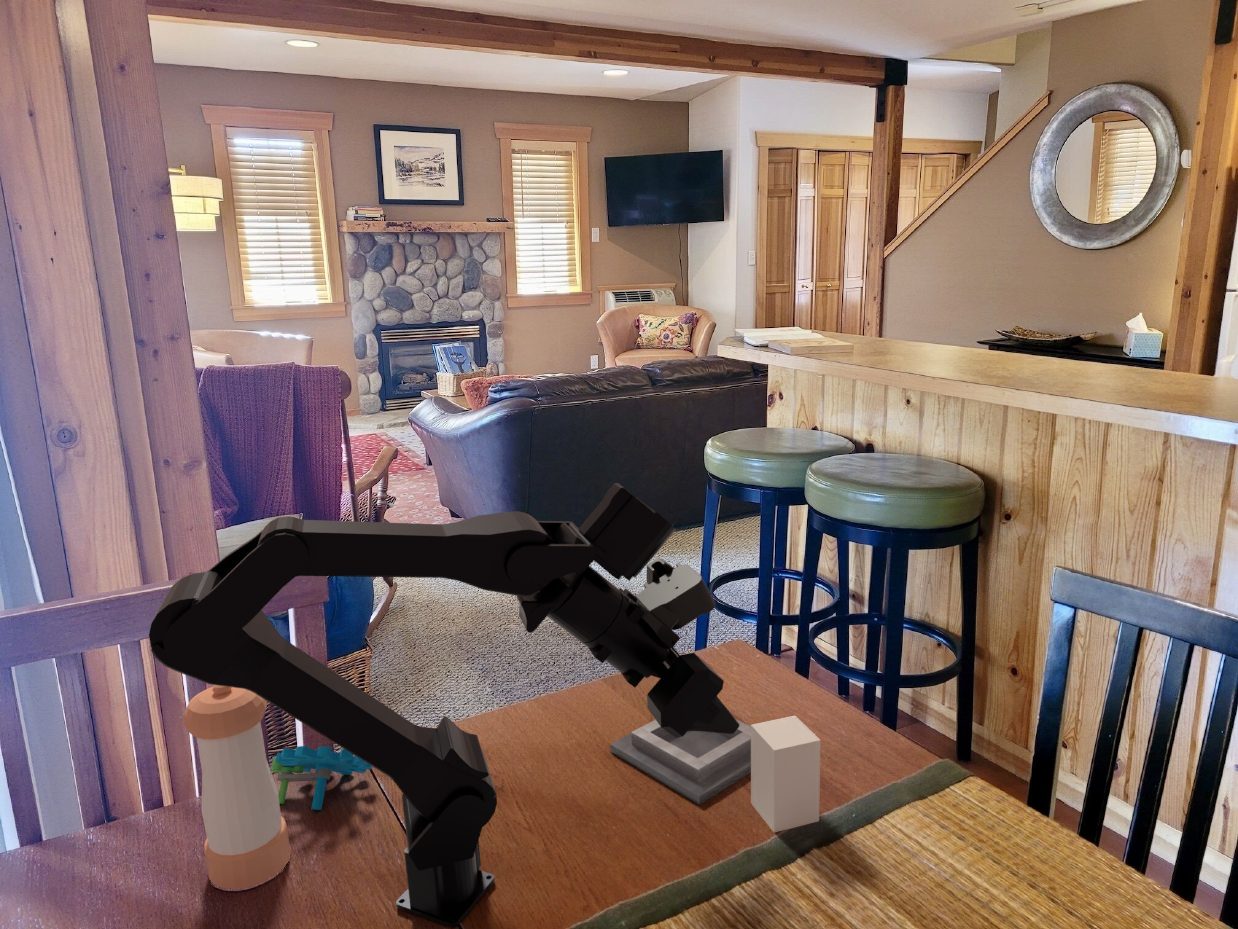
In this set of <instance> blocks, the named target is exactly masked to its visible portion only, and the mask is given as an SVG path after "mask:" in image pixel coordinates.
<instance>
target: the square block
mask: <svg viewBox="0 0 1238 929" xmlns="http://www.w3.org/2000/svg"><path fill="white" fill-rule="evenodd" d="M750 726H751V773H750V804H751V805H752V806H753V808H754V809H755V810H756V812H757V813H758V814H759V815H760V817H761V818H762V819H763V821H765V823H766V825H767V826H768V827H769V828H770V829H771V831H772V832H773V833H777V832H781V831H786V830H790V829H793V828H797V827H801V826H805V825H809V824H813V823H817V822H819V821H820V794H821V793H820V789H821V788H820V787H821V784H820V782H821V780H820V779H821V739H820V738H819V737H818V735H816V734H815V733H814V732H813V731H812V730H811V729H810V728H809V727H808V726H807V725H806V724H804V722H803V721H802V720H800V719H799V718H798V716H796V715H792V716H786V717H781V718H776V719H772V720H766V721H763V722H758V723H753V724H750Z"/></svg>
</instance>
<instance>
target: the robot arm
mask: <svg viewBox="0 0 1238 929" xmlns="http://www.w3.org/2000/svg"><path fill="white" fill-rule="evenodd" d="M676 530H677V529H676V528H675V527H674V526H673V525H672V524H671V523H670V522H669V521H668V520H667V519H665V518H664V517H663V516H662V515H660V513H658V512H657V511H656V510H655V509H654V508H652V507H650V506H649V505H648V504H647V503H645V502H644V501H643V500H641V499H640V498H639V497H636V496H634V494H632V493H631V492H630V491H628V490H627V489H626V488H625V487H624V486H622V485H621V484H620V483H618V482H615V483H613V485H611V487H610V488H609V489H608V490H607V492H606V493H605V494H604V497H603V498H602V500H601V501H600V503H599V504H598V505H597V507H595V509H594V510H593V511H592V512H591V513H590V515H589V516H588V517H587V518H586V519H585V521H584V522H583V523H582V524H581V526H579V527H577V526H576V524H575V523H574V522H573V521H567V520H565V521H564V520H561V521H560V520H559V521H558V520H537V519H536V518H535V517H533V516H532V515H530V514H529V513H526V512H522V511H518V510H514V511H503V512H498V513H497V512H496V513H489V514H482V515H476V516H472V517H469V518H466V519H463V520H460V521H455V522H450V523H448V522H447V523H442V524H441V523H439V524H438V523H412V522H411V523H407V522H406V523H405V522H381V521H380V522H379V521H378V522H376V521H351V520H350V521H349V520H322V519H318V520H317V519H316V520H315V519H303V518H302V519H301V518H298V517H295V516H289V515H286V516H280V517H277V518H275V519H273V520H271V521H269V522H268V523H267V524H266V525H265V526H264V527H263V529H261V531H260V532H258V533H257V534H256V535H254V536H253V537H252V538H251V539H249V540H247V541H246V542H245V543H242V544H241V545H240V546H238V547H237V548H235V549H234V550H233V551H231V552H229V553H228V554H226V555H225V556H223V558H222V559H220V560H219V561H218V562H217V563H216V564H214V565H213V566H212V567H211V568H209V569H208V570H207V571H203V572H195V573H194V572H193V573H191V574H189V575H186V576H183V577H181V578H179V580H177V581H176V582H175V583H173V584H172V586H171V587H170V589H169V590H168V592H167V594H166V595H165V597H164V599H163V601H162V603H161V605H160V607H159V608H158V610H157V612H156V614H155V616H154V618H153V619H152V622H151V624H150V628H149V632H148V640H149V645H150V648H151V649H150V650H151V654H152V655H153V656H154V657H155V659H156V660H157V661H158V662H159V663H160V664H162V665H163V666H164V667H166V668H168V669H170V670H172V671H175V672H178V673H180V674H182V675H185V676H187V677H190V678H193V679H194V680H198V681H200V682H202V683H205V684H207V685H211V686H212V685H213V686H214V685H218V686H226V687H234V688H242V689H246V690H249V691H251V692H253V693H255V694H257V695H258V696H260V697H261V698H263V699H265V700H266V701H267V703H268V702H269V704H270V705H272V706H274V707H276V708H278V709H279V710H280V711H283V712H284V713H286V714H287V715H289V716H291V717H292V718H294V719H296V720H297V721H298V722H300V723H302V724H303V725H305V726H306V727H308V728H310V729H312V730H314V731H315V732H316V733H318V734H320V735H321V736H323V737H325V738H326V739H328V740H330V742H333V743H334V744H336V745H337V746H339V747H341V748H342V749H345V750H347V751H349V752H350V753H352V754H353V756H357V757H358V758H360V759H361V760H363V761H365V762H366V763H368V764H370V765H371V766H373V767H372V768H375V769H376V770H378V771H379V772H381V773H383V774H384V775H386V776H387V777H388V778H390V779H391V780H392V781H393V782H394V784H395V785H396V786H397V788H398V789H399V790H400V791H401V794H402V796H401V801H402V809H403V817H404V824H405V834H406V841H407V842H406V843H407V847H405V849H404V851H403V852H404V853H403V854H404V862H405V863H404V864H405V871H406V880H407V882H406V883H407V889H406V890H405V891H404V892H403V893H402V894H401V895H400V896H399V897H398V898H397V899H396V902H395V904H396V909H398V910H402V911H404V912H407V913H409V914H412V915H415V916H418V917H421V918H424V919H425V920H430V921H432V922H435V923H437V924H438V923H439V924H440V925H444V926H447V927H450V928H455V927H457V926H458V925H459V924H460V923H461V922H462V921H463V920H464V918H465V917H466V916H467V915H468V914H469V912H470V911H471V910H472V909H473V908H474V906H476V904H477V903H478V902H479V901H480V899H482V897H483V896H484V895H485V893H486V892H488V890H489V888H490V887H491V886H492V885H493V884H494V882H495V875H494V874H493V873H490V872H488V871H487V872H486V871H484V870H481V866H482V864H481V863H482V862H481V851H480V842H479V841H480V836H481V833H482V830H483V828H484V827H485V826H486V825H487V824H489V822H490V821H491V819H492V818H493V816H494V814H495V813H496V809H497V806H498V798H497V792H496V788H495V785H494V782H493V779H492V776H491V771H490V769H489V766H488V762H487V759H486V755H485V753H484V751H483V749H482V747H481V744H480V740H479V736H478V734H474V733H470V732H467V731H464V730H462V729H461V728H460V727H459V726H458V725H457V724H456V723H455V722H454V721H452V719H451V718H449V717H448V716H443V717H442V719H441V721H440V722H439V724H438V725H437V727H428V726H427V727H425V726H420V725H417V724H414V723H413V722H411V721H410V720H408V719H407V718H405V717H403V716H402V715H401V714H399V713H398V712H396V711H395V710H393V709H391V708H390V707H389V706H387V705H386V704H384V703H382V702H381V701H379V700H378V699H376V698H374V696H372V695H370V694H369V693H367V692H365V691H364V690H363V689H361V688H360V687H358V686H357V685H355V684H353V683H352V682H350V681H349V680H347V679H346V678H345V677H343V676H341V675H340V674H339V673H337V672H335V671H334V670H332V669H331V668H329V667H327V666H326V665H324V664H323V663H321V662H320V661H318V660H317V659H315V658H314V657H313V656H311V655H309V654H308V653H306V652H305V651H304V650H302V649H301V648H299V647H297V646H296V645H294V644H293V643H291V642H289V641H288V640H286V639H285V638H284V637H283V636H282V635H281V633H279V631H278V630H277V628H276V627H275V626H274V624H273V623H272V621H270V619H269V618H268V617H267V615H266V614H265V613H264V611H263V609H264V608H265V606H267V604H268V603H269V602H270V601H271V600H272V599H273V598H274V597H275V596H276V595H277V594H278V593H279V592H280V591H281V589H282V588H284V587H285V586H286V585H288V584H289V583H290V582H291V581H292V580H294V579H295V578H296V577H350V578H351V577H353V578H360V577H361V578H414V579H415V578H417V579H419V578H424V579H426V578H427V579H428V578H430V579H432V578H434V579H447V580H453V581H457V582H461V583H463V584H466V585H469V586H472V587H474V588H476V589H477V588H478V589H480V590H483V591H489V592H495V593H499V594H506V595H510V596H515V597H516V599H517V602H518V603H519V604H518V606H519V607H518V608H519V610H518V617H519V619H520V621H521V623H522V624H523V627H524V629H525V630H526V632H527V633H530V634H531V633H534V632H535V631H536V630H537V629H538V628H539V626H540V625H541V624H542V623H543V621H544V620H545V619H546V618H548V619H549V620H551V621H553V622H554V623H555V624H557V625H558V626H560V628H561V629H563V630H565V631H566V632H567V633H568V634H570V635H571V636H573V637H574V638H575V639H576V640H578V641H579V642H580V643H581V644H583V645H585V647H587V648H588V650H589V651H590V654H592V655H593V657H594V659H596V660H597V661H598V662H600V663H601V664H604V663H605V662H607V663H608V664H610V665H611V666H612V667H613V668H614V669H616V670H617V671H619V673H620V674H621V675H622V676H623V678H624V679H625V681H626V682H627V683H628V684H629V685H631V686H632V687H633V688H636V687H637V686H638V685H639V684H640V683H641V681H642V680H643V679H644V678H646V679H648V678H650V677H654V678H658V679H659V680H658V681H657V682H656V683H655V684H654V686H653V687H652V688H651V689H650V690H649V691H648V693H647V694H646V703H647V710H648V711H649V712H650V714H651V715H652V716H653V718H654V720H656V721H657V722H658V724H659V725H660V726H661V727H662V728H663V729H664V730H666V731H667V732H668V733H670V734H671V735H672V736H674V737H675V738H679V737H683V736H684V735H685V733H686V732H687V731H702V732H714V733H725V734H733V733H734V732H735V731H736V730H737V729H738V728H739V723H738V722H737V721H736V720H737V719H736V718H735V716H733V714H732V713H731V712H730V711H729V709H728V708H727V707H726V706H725V704H724V702H722V701H721V699H720V698H719V697H718V695H719V694H720V693H721V691H723V688H724V683H725V680H724V679H723V678H722V677H721V676H720V675H719V674H718V673H717V672H716V671H715V670H714V669H713V668H712V667H711V666H710V665H709V664H708V663H707V662H706V661H705V660H704V659H702V658H701V657H700V656H699V655H698V654H696V653H695V652H690V653H685V654H680V653H679V652H678V651H677V650H676V649H675V646H676V644H677V643H678V642H679V641H680V640H681V636H679V634H678V633H676V632H675V631H676V630H679V629H681V628H684V627H685V626H687V625H688V624H690V623H691V622H693V621H695V620H696V619H698V618H699V617H701V616H702V615H707V614H709V613H711V612H712V611H713V610H714V609H715V607H716V602H715V599H714V597H713V596H712V595H711V592H710V590H709V589H708V586H707V584H706V582H705V580H704V578H703V576H702V575H701V574H700V573H698V572H697V571H696V570H695V569H694V568H693V567H692V566H691V565H689V564H682V563H680V562H677V563H675V567H674V566H672V564H670V563H669V562H667V561H665V560H663V559H662V558H661V557H657V558H655V559H653V558H654V556H655V555H656V554H657V553H658V551H659V550H661V548H662V547H663V546H664V545H665V543H666V542H667V541H668V540H669V539H670V538H671V536H672V535H673V534H674V533H675V531H676ZM652 559H653V560H652ZM651 560H652V561H651ZM593 562H595V563H596V564H598V565H599V566H600V567H601V568H603V569H604V570H605V571H606V572H607V573H609V574H610V575H611V576H612V577H613V578H614V579H616V580H618V581H619V580H621V578H622V577H624V578H625V579H626V580H628V581H630V580H632V578H635V579H636V578H637V577H638V576H639V574H640V573H641V572H642V571H643V569H645V567H646V582H645V583H643V587H644V589H643V590H641V591H640V592H638V593H637V594H636V595H635V594H634V593H632V592H631V591H630V590H628V588H627V587H626V588H624V589H623V588H621V587H619V588H618V587H617V586H615V585H614V584H613V583H612V582H610V581H609V580H608V579H607V578H605V577H604V576H603V575H602V574H600V573H599V572H598V571H597V570H595V569H594V568H593V567H592V566H591V564H592V563H593Z"/></svg>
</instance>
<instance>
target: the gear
mask: <svg viewBox="0 0 1238 929" xmlns="http://www.w3.org/2000/svg"><path fill="white" fill-rule="evenodd" d="M317 748H318V749H314V748H311V747H309V746H304V745H301V746H296V747H295V749H291V748H285V747H284V748H282V750H281V752H276V756H275V757H273V758H272V762H271V763H272V764H271V768H270V770H271V773H272V772H273V773H278V775H277V781H278V782H280V786H279V791H278V795H279V804H280V805H285V800H286V797H287V796H286V795H287V792H288V786H289V783H293V782H295V783H297V782H313V781H314V782H315V788H314V792H313V799H312V803H311V809H310V810H313V811H322V808H323V803H324V798H325V792H326V786H327V781H330V779H331V775H332V774H333V772H334V773H338V774H340V775H344V776H349V775H352V774H353V772H354V773H359V774H365V773H366V772H367V770H373V768H374V767H373V766H371V765H370V764H368V763H366V762H365V761H363V760H361V759H360V758H358V757H357V756H355V755H353V754H352V753H350V752H349V751H347V750H345V749H344V748H342V749H341V750H340V752H335V751H334V750H332V747H331V746H318V747H317ZM311 770H315V771H314V772H312V771H311ZM311 772H312V773H311ZM279 773H281V774H279Z"/></svg>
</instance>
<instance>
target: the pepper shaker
mask: <svg viewBox="0 0 1238 929" xmlns="http://www.w3.org/2000/svg"><path fill="white" fill-rule="evenodd" d="M267 705H268V701H266V700H265V699H263V698H261V697H260V696H258V695H257V694H255V693H253V692H251V691H249V690H246V689H242V688H234V687H226V686H218V685H213V686H211V687H208V688H206V689H205V690H202V691H201V692H199V693H197V694H196V695H195V696H194V697H192V698H190V700H189V702H188V704H187V705H186V708H185V710H184V712H183V719H182V721H183V725H184V727H185V729H186V731H187V732H188V733H189V734H190V735H192V736H193V737H194V738H196V742H197V750H198V756H199V761H200V767H201V810H200V811H201V815H202V820H203V826H204V829H205V830H204V831H205V834H206V839H205V842H204V844H203V849H204V854H205V859H206V867H207V872H208V873H207V874H208V878H209V881H210V880H211V882H213V884H215V885H217V886H220V887H222V888H228V889H229V888H232V889H233V888H234V889H236V888H241V887H243V888H244V887H250V886H252V885H255V884H257V883H260V882H263V881H265V880H267V879H268V878H269V877H271V876H274V874H276V873H277V872H279V871H280V870H281V869H283V868H284V866H285V865H286V864H287V863H288V861H289V862H290V860H291V856H290V854H291V855H292V853H291V846H290V839H289V833H288V826H287V823H286V819H285V818H284V817H283V816H282V814H281V806H280V805H281V804H279V791H278V788H277V785H276V783H275V779H274V777H273V774H272V771H271V768H270V765H269V763H268V759H267V754H266V748H265V742H264V736H263V735H264V734H263V730H262V723H261V722H262V720H263V719H264V716H265V714H266V711H267ZM289 859H290V860H289ZM288 864H289V863H288Z"/></svg>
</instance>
